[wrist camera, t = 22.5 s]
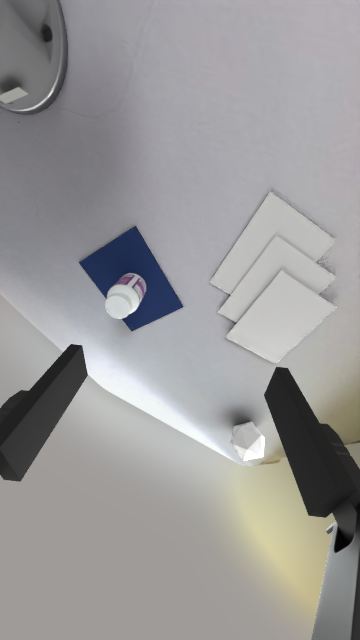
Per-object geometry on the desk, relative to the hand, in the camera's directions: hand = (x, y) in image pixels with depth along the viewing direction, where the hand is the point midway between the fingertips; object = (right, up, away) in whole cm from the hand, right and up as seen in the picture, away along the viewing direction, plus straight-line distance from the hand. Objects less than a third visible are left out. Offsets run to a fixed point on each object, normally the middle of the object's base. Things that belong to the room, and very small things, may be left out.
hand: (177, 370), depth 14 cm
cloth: (-9, +10, +26) cm, 29 cm away
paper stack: (+18, +8, +25) cm, 32 cm away
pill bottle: (-9, +10, +25) cm, 29 cm away
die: (+19, -28, +45) cm, 56 cm away
